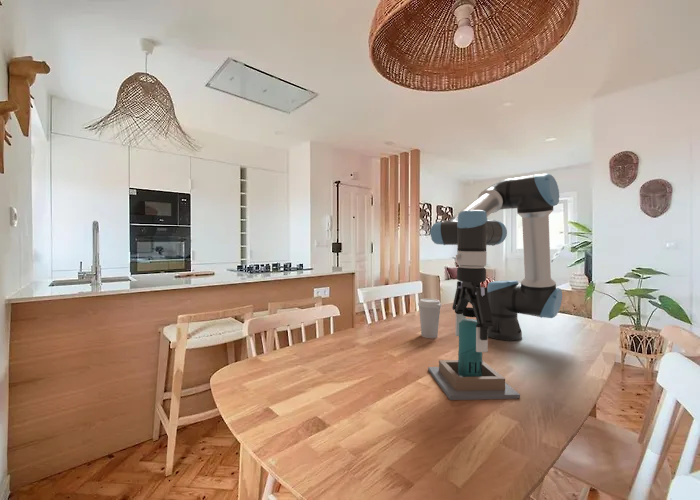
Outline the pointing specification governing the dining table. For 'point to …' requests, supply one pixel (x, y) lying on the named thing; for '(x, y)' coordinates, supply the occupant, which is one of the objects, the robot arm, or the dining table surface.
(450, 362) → the bottle stand
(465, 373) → the beverage bottle
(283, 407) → the dining table surface
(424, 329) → the coffee cup
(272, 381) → the dining table surface
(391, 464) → the dining table surface
